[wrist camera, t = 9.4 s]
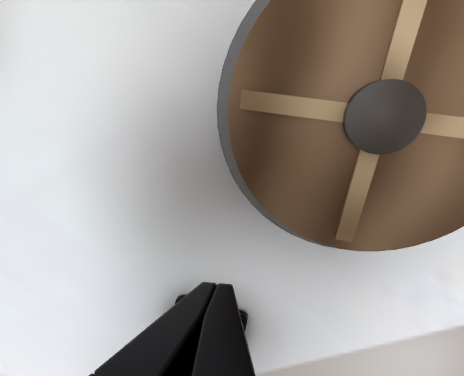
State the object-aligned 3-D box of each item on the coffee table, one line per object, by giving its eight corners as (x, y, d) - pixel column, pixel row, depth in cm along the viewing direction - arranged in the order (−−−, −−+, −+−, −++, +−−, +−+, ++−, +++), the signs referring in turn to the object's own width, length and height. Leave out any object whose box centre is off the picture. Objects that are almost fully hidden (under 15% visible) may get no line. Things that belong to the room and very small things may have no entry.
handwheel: (219, 216, 19) (195, 266, 14) (251, -69, 14) (233, -183, 8) (463, 259, 17) (551, 338, 12) (612, -48, 12) (910, -175, 6)
